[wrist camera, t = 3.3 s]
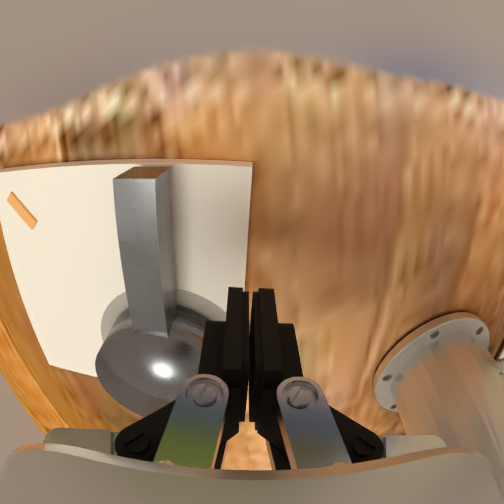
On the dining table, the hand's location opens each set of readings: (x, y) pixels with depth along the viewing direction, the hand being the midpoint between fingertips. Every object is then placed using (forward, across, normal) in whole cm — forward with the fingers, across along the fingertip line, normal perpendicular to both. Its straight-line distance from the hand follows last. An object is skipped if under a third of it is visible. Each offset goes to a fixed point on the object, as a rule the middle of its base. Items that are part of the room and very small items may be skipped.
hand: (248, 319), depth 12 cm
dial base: (+8, +9, +5) cm, 13 cm away
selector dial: (+6, +5, +4) cm, 9 cm away
